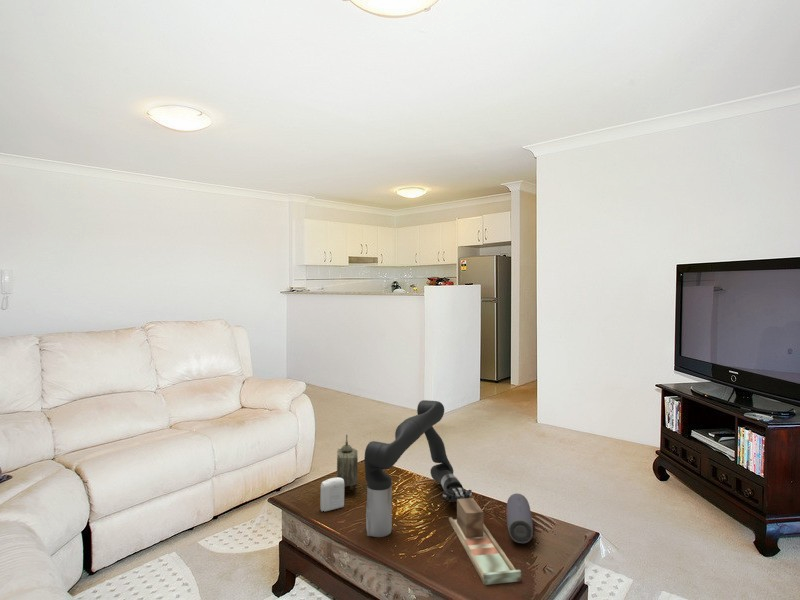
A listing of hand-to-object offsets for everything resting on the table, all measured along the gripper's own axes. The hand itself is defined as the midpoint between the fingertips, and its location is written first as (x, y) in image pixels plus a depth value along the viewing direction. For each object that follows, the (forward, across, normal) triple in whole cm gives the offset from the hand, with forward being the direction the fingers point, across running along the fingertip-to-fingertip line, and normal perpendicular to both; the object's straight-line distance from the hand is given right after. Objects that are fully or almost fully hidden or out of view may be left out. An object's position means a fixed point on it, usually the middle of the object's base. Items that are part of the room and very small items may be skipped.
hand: (463, 503), depth 182 cm
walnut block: (+8, 0, +6) cm, 10 cm away
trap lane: (+20, 0, +6) cm, 21 cm away
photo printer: (-18, -51, +7) cm, 55 cm away
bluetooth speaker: (+12, +18, +7) cm, 22 cm away
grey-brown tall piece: (-35, -44, +7) cm, 57 cm away
